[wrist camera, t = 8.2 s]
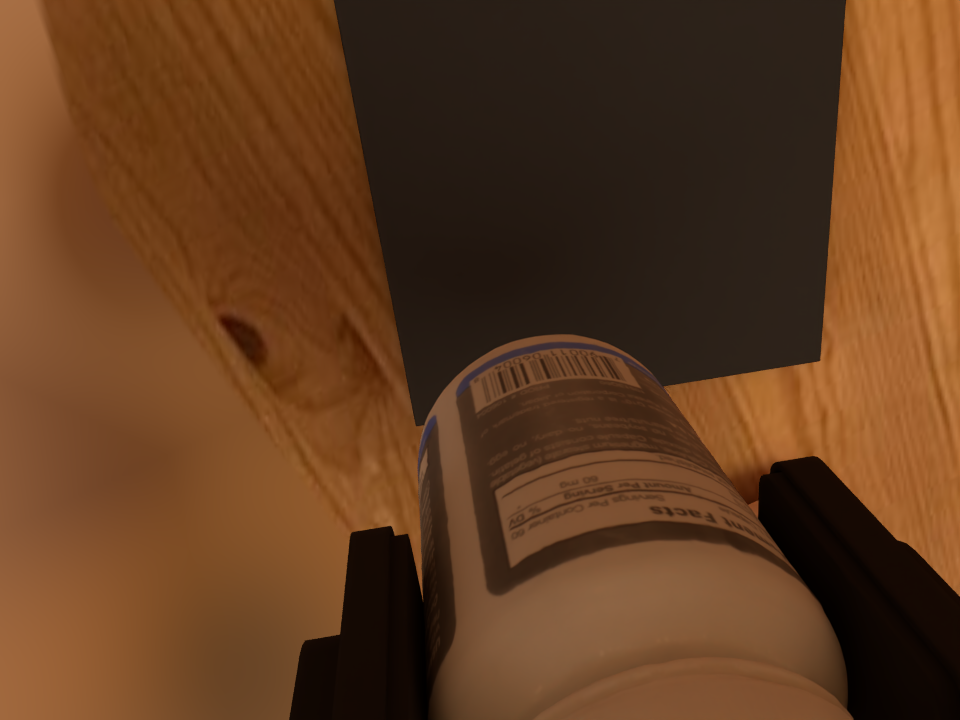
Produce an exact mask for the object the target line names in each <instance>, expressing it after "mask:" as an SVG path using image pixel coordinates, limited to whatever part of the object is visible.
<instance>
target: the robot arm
mask: <svg viewBox="0 0 960 720" xmlns="http://www.w3.org/2000/svg"><path fill="white" fill-rule="evenodd" d="M758 519H759V521H760V522H761V524H762V525H763V526H764V528H765V529H766V531H767V532H768V533H769V535H770V536H771V538H772V539H773V540H774V542H775V543H776V544H777V546H778V547H779V549H780V550H781V551H782V553H783V554H784V556H785V557H786V558H787V560H788V561H789V563H790V564H791V565H792V566H793V568H794V569H795V570H796V572H797V573H798V574H799V576H800V577H801V578H802V580H803V581H804V582H805V584H806V585H807V586H808V587H809V589H810V590H811V591H812V593H813V594H814V595H815V596H816V598H817V599H818V600H819V601H820V603H821V604H822V607H823V610H824V612H825V614H826V616H827V618H828V619H829V621H830V623H831V625H832V627H833V629H834V632H835V634H836V636H837V638H838V640H839V643H840V646H841V649H842V653H843V656H844V660H845V665H846V670H847V681H848V705H847V711H848V712H849V713H850V715H851V716H852V717H853V719H854V720H960V597H959V596H958V595H957V593H956V592H955V591H954V590H953V589H952V588H951V587H950V586H949V585H948V584H947V583H946V582H945V581H944V580H943V579H942V578H941V577H940V576H939V575H938V574H937V573H936V572H935V570H934V569H933V568H932V567H931V566H930V565H929V564H928V563H927V562H926V561H925V560H924V559H923V558H922V557H921V556H920V555H919V554H918V553H917V552H916V551H915V550H914V549H913V548H912V547H910V546H909V545H908V544H907V543H904V542H901V541H897V540H896V539H895V538H894V537H893V535H892V534H891V533H890V532H889V531H888V530H887V529H886V528H885V527H884V526H883V525H882V524H881V523H880V522H879V521H878V520H877V518H876V517H875V516H874V515H873V514H872V513H871V512H870V511H869V510H868V509H867V508H866V507H865V506H864V505H863V504H862V502H861V501H860V500H859V499H858V498H857V497H856V496H855V495H854V494H853V493H852V492H851V491H850V490H849V489H848V488H847V487H846V485H845V484H844V483H843V482H842V481H841V480H840V479H839V478H838V477H837V476H836V475H835V474H834V473H833V472H832V471H831V469H830V468H829V467H828V466H827V465H826V464H825V463H824V462H823V461H822V460H821V459H819V458H818V457H815V456H811V457H805V458H798V459H792V460H786V461H780V462H775V463H774V464H773V465H772V467H771V469H770V474H766V475H763V476H761V478H760V481H759V501H758ZM289 720H427V694H426V661H425V625H424V614H423V599H422V594H421V590H420V585H419V580H418V576H417V571H416V566H415V562H414V557H413V552H412V548H411V543H410V539H409V536H408V534H404V535H398V536H395V535H394V531H393V529H392V527H391V526H387V527H381V528H375V529H369V530H363V531H357V532H352V533H351V536H350V543H349V554H348V563H347V574H346V583H345V593H344V602H343V612H342V622H341V632H340V635H336V636H330V637H324V638H318V639H312V640H306V641H305V642H304V644H303V645H302V648H301V652H300V656H299V663H298V670H297V675H296V681H295V687H294V694H293V700H292V706H291V712H290V718H289Z"/></svg>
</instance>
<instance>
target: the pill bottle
mask: <svg viewBox="0 0 960 720" xmlns="http://www.w3.org/2000/svg"><path fill="white" fill-rule="evenodd" d="M418 484H419V490H418V495H419V507H420V526H421V553H422V588H423V614H424V625H425V661H426V694H427V720H854V719H853V717H852V716H851V715H850V713H849V712H848V711H847V705H848V681H847V670H846V665H845V660H844V656H843V653H842V649H841V646H840V643H839V640H838V638H837V636H836V634H835V632H834V629H833V627H832V625H831V623H830V621H829V619H828V618H827V616H826V614H825V612H824V610H823V607H822V604H821V603H820V601H819V600H818V599H817V598H816V596H815V595H814V594H813V593H812V591H811V590H810V589H809V587H808V586H807V585H806V584H805V582H804V581H803V580H802V578H801V577H800V576H799V574H798V573H797V572H796V570H795V569H794V568H793V566H792V565H791V564H790V563H789V561H788V560H787V558H786V557H785V556H784V554H783V553H782V551H781V550H780V549H779V547H778V546H777V544H776V543H775V542H774V540H773V539H772V538H771V536H770V535H769V533H768V532H767V531H766V529H765V528H764V526H763V525H762V524H761V522H760V521H759V519H758V518H757V517H756V515H755V514H754V512H753V511H752V509H751V508H750V507H749V506H748V504H747V503H746V502H745V501H744V499H743V498H742V497H741V495H740V494H739V492H738V491H737V490H736V489H735V487H734V485H733V484H732V482H731V481H730V480H729V479H728V477H727V476H726V475H725V473H724V472H723V470H722V469H721V468H720V466H719V465H718V463H717V462H716V460H715V459H714V457H713V456H712V455H711V453H710V452H709V450H708V449H707V448H706V447H705V445H704V444H703V443H702V441H701V440H700V438H699V437H698V435H697V434H696V432H695V431H694V429H693V428H692V427H691V425H690V424H689V422H688V421H687V420H686V419H685V417H684V416H683V414H682V413H681V412H680V410H679V409H678V407H677V406H676V405H675V403H674V402H673V401H672V399H671V398H670V396H669V395H668V393H667V392H666V390H665V389H664V387H663V386H662V385H661V384H660V383H659V382H658V380H657V379H656V378H655V377H654V376H653V374H652V373H651V372H650V371H649V370H648V369H647V368H645V367H644V366H643V365H642V364H641V363H640V362H638V361H637V360H636V359H634V358H633V357H631V356H630V355H629V354H627V353H625V352H623V351H622V350H620V349H618V348H616V347H614V346H612V345H610V344H608V343H605V342H602V341H599V340H596V339H592V338H587V337H582V336H577V335H566V334H560V335H544V336H536V337H530V338H525V339H521V340H517V341H513V342H510V343H508V344H505V345H502V346H500V347H498V348H495V349H493V350H492V351H490V352H489V353H487V354H485V355H484V356H482V357H480V358H479V359H477V360H476V361H474V362H473V363H472V364H470V365H469V366H468V367H466V368H465V369H464V370H463V371H462V372H461V373H460V374H458V375H457V376H456V377H455V378H454V379H453V380H452V382H451V383H450V384H449V385H448V386H447V387H446V388H445V389H444V390H443V392H442V393H441V395H440V396H439V398H438V399H437V401H436V402H435V404H434V406H433V408H432V409H431V411H430V413H429V415H428V417H427V419H426V422H425V425H424V428H423V431H422V436H421V440H420V447H419V458H418Z"/></svg>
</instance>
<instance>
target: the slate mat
mask: <svg viewBox="0 0 960 720" xmlns="http://www.w3.org/2000/svg"><path fill="white" fill-rule="evenodd" d="M334 3H335V8H336V14H337V19H338V24H339V29H340V34H341V40H342V45H343V50H344V55H345V60H346V66H347V71H348V76H349V81H350V86H351V92H352V97H353V102H354V107H355V112H356V117H357V123H358V128H359V133H360V138H361V143H362V149H363V154H364V159H365V164H366V169H367V175H368V180H369V185H370V190H371V195H372V201H373V206H374V211H375V216H376V221H377V227H378V232H379V237H380V242H381V247H382V252H383V258H384V263H385V268H386V273H387V278H388V284H389V289H390V294H391V299H392V304H393V310H394V315H395V320H396V325H397V330H398V336H399V341H400V346H401V351H402V356H403V362H404V367H405V372H406V377H407V382H408V387H409V393H410V398H411V403H412V408H413V413H414V419H415V424H416V426H421V425H425V422H426V419H427V417H428V415H429V413H430V411H431V409H432V408H433V406H434V404H435V402H436V401H437V399H438V398H439V396H440V395H441V393H442V392H443V390H444V389H445V388H446V387H447V386H448V385H449V384H450V383H451V382H452V380H453V379H454V378H455V377H456V376H457V375H458V374H460V373H461V372H462V371H463V370H464V369H465V368H466V367H468V366H469V365H470V364H472V363H473V362H474V361H476V360H477V359H479V358H480V357H482V356H484V355H485V354H487V353H489V352H490V351H492V350H493V349H495V348H498V347H500V346H502V345H505V344H508V343H510V342H513V341H517V340H521V339H525V338H530V337H536V336H544V335H560V334H566V335H577V336H582V337H587V338H592V339H596V340H599V341H602V342H605V343H608V344H610V345H612V346H614V347H616V348H618V349H620V350H622V351H623V352H625V353H627V354H629V355H630V356H631V357H633V358H634V359H636V360H637V361H638V362H640V363H641V364H642V365H643V366H644V367H645V368H647V369H648V370H649V371H650V372H651V373H652V374H653V376H654V377H655V378H656V379H657V380H658V382H659V383H660V384H661V385H662V386H669V385H675V384H681V383H687V382H693V381H700V380H706V379H712V378H718V377H724V376H730V375H737V374H743V373H749V372H755V371H761V370H768V369H774V368H780V367H786V366H792V365H799V364H805V363H811V362H817V361H820V355H821V341H822V327H823V313H824V299H825V285H826V271H827V257H828V243H829V229H830V215H831V201H832V187H833V173H834V159H835V145H836V131H837V117H838V103H839V89H840V75H841V61H842V47H843V33H844V19H845V5H846V0H334Z"/></svg>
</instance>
